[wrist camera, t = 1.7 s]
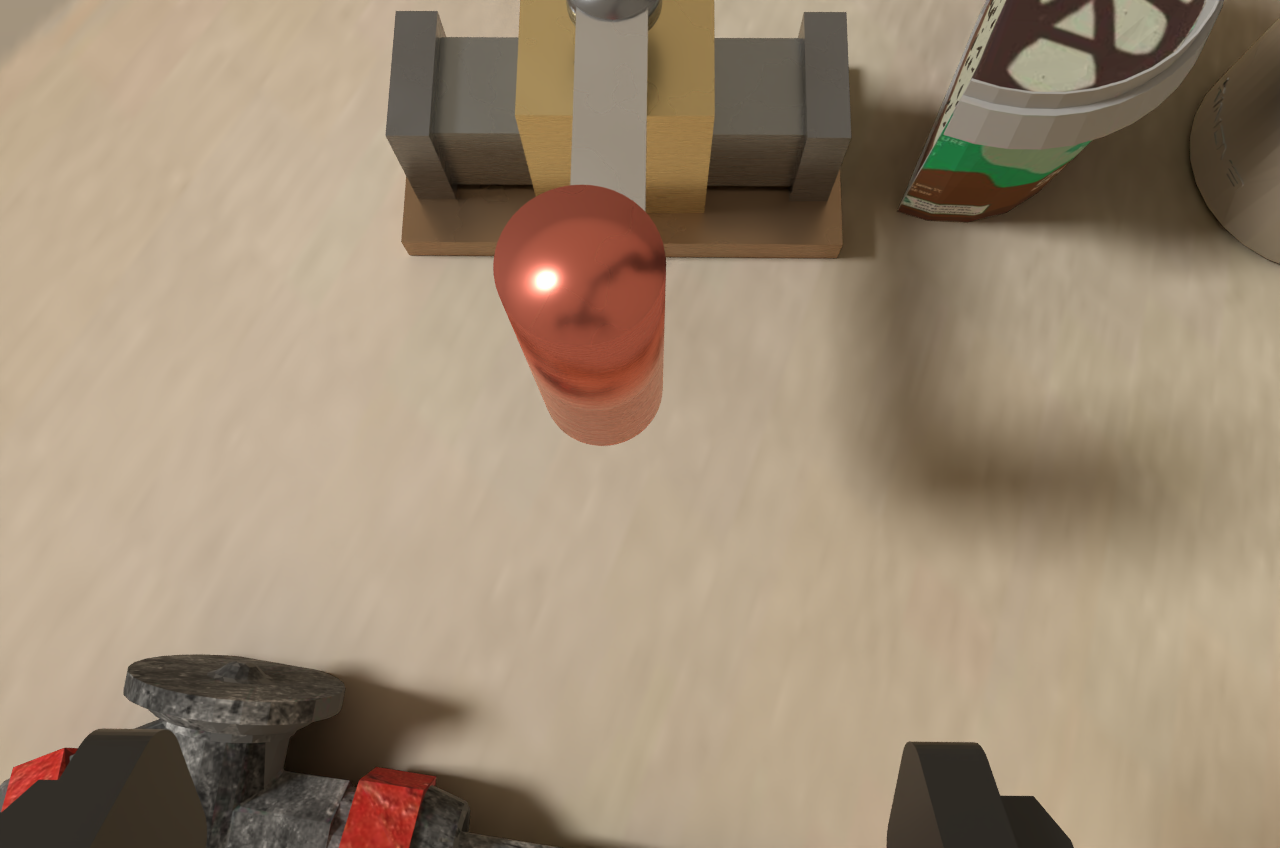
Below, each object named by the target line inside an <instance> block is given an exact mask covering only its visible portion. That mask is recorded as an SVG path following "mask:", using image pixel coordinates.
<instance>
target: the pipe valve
mask: <svg viewBox="0 0 1280 848" xmlns="http://www.w3.org/2000/svg"><path fill="white" fill-rule="evenodd" d="M575 31H576V27H575V26H574V24H573V23H572V21H571V19H570V17H569V14H568V11H567V5H566V0H520V19H519V38H488V37H446V35H445V32H444V29H443V26H442V23H441V20H440V17H439V14H438V11H396V16H395V28H394V40H393V52H392V64H391V77H390V89H389V101H388V113H387V125H386V137H387V139H388V141H389V143H390V145H391V147H392V149H393V151H394V153H395V155H396V157H397V159H398V161H399V163H400V165H401V166H402V168H403V170H404V172H405V174H406V188H405V201H404V214H403V227H402V241H401V242H402V244H403V245H404V247H405V249H406V250H407V252H408V254H409V255H468V256H494V255H495V250H496V246H497V242H498V240H499V237H500V235H501V233H502V231H503V229H504V227H505V226H506V224H507V222H508V221H509V220H510V219H511V217H512V216H513V215H514V214H515V213H516V212H517V211H518V210H519V209H520V208H521V207H522V206H523V205H524V204H526V203H527V202H528V201H530V200H531V199H533V198H535V197H536V196H538V195H540V194H542V193H544V192H547V191H549V190H552V189H555V188H559V187H563V186H569V185H570V182H571V152H572V122H573V92H574V61H575ZM850 140H851V117H850V92H849V67H848V42H847V17H846V12H804V14H803V19H802V23H801V27H800V32H799V36H798V38H714V0H662V9H661V13H660V16H659V18H658V20H657V22H656V23H655V24H654V26H653V27H652V28H651V29H650V30H649V31H648V86H647V160H646V213H647V214H648V215H649V217H650V218H651V219H652V221H653V222H654V224H655V225H656V227H657V229H658V231H659V233H660V236H661V239H662V241H663V245H664V250H665V257H754V258H837V257H838V254H839V252H840V250H841V248H842V246H843V237H842V209H841V182H840V167H841V164H842V161H843V159H844V156H845V153H846V151H847V148H848V145H849V143H850Z"/></svg>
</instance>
